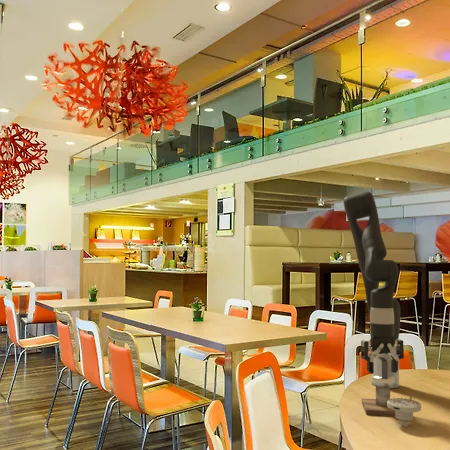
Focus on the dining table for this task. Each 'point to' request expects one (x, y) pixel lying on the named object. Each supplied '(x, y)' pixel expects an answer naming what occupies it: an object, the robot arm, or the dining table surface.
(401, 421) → the showerhead
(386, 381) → the knob
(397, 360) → the robot arm
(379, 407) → the post base
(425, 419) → the dining table surface
